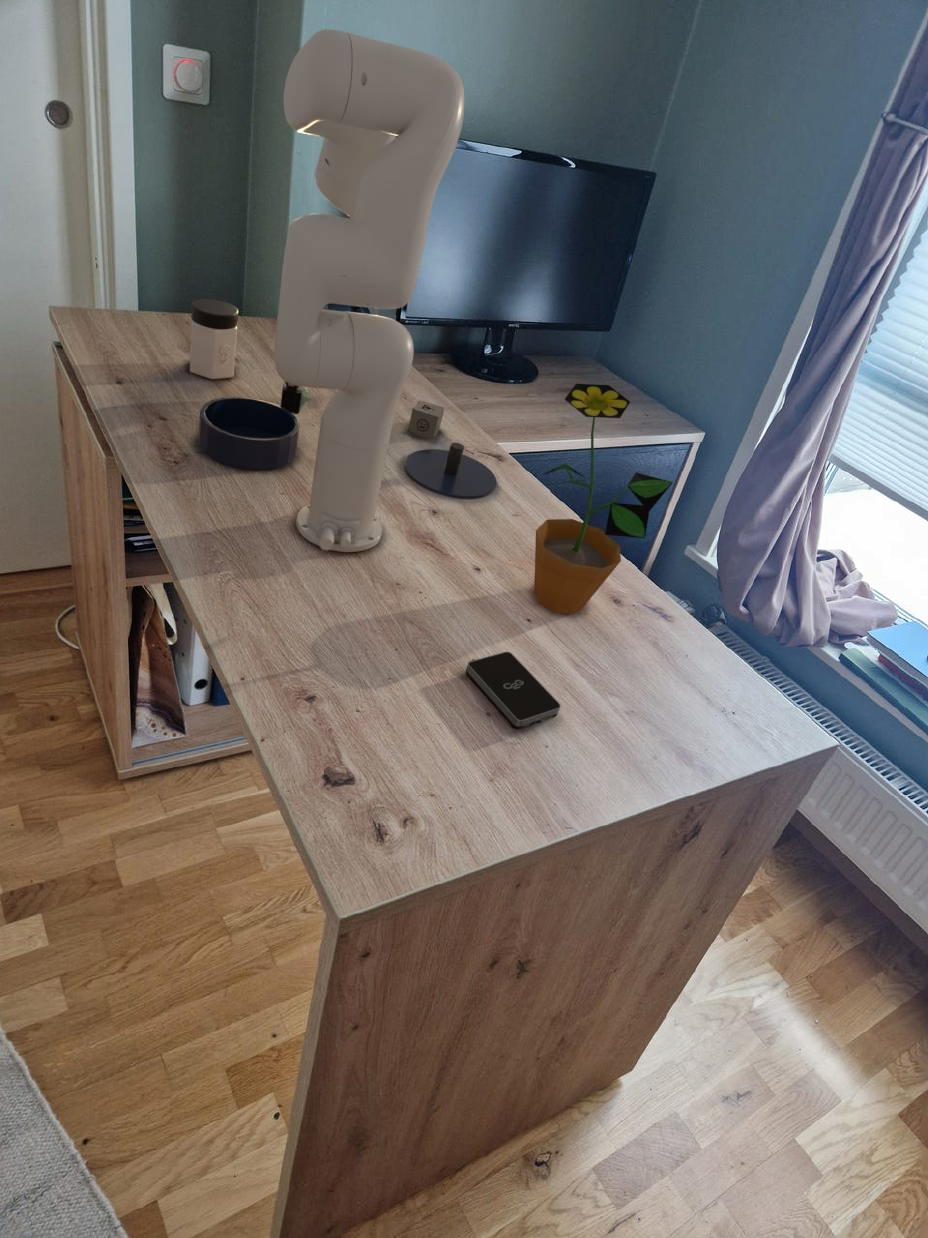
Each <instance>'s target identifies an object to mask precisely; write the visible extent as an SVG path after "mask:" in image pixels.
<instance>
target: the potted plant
mask: <svg viewBox="0 0 928 1238" xmlns="http://www.w3.org/2000/svg"><path fill="white" fill-rule="evenodd" d="M564 401H566V402H567V403H568V404H569V405H571V406H572V407H573V408H574V409H576V410H577V411H578V412H579V413H581V414H582V415H583V416H584V417H585V418H592V424H591V433H590V483H585V482H584V481H586V479H587V477H586V476H585V475H583V474H582V473H580V472H578V471H577V470H575V469H574V468H572V466H570V465H568V464H566V463H563V464H561V465H558V466H556V467H554V468H553V469H551V470H549V471H546V472H544V475H546V474H550V473H553V472H557V471H561V470H564V469H565V470H566V472H567V475H568V477H569V479H570V481H564V482H556V483H550V484H548V486H557V485H563V484H569V483H572V484H573V485H577V486H579V487H580V486H581V487H584V488H588V489H589V492H588V500H587V507H586V512H585V516H584V517H583V518H584V519H583V521H579V520H576V519H573V518H561V519H560V518H559V519H558V518H556V519H555V518H553V519H546V520H545V521H543V523H542V524H541V525H540V526H539V527H537V529H535V548H534V549H535V550H534V578H533V581H534V585H533V594H534V596H535V597H536V600H537V602H538V604H539V605H541V606H542V607H544V608H546V609H548V610H549V611H551V612H553V613H558V614H564V615H570V616H571V615H573V614H575V613H578V612H580V611H582V610H583V609H584V608H585V606H586V605H587V603H589V601H590V600H591V599H592V597H593V596H594V595H595V594H596V593H597V591H598V590H599V589H600V588H601V586H602V585H603V584H604V583H605V581H606V580H607V579H608V578H609V577H610V575H611V574H612V573H613V572H614V570H615V569H616V568H617V566H618V565H619V564H620V563H621V562H622V556H621V545H620V544H619V543H618V542H616V541H615V539H613V538H612V537H611V536H614V537H626V538H635V539H636V538H637V539H646V535H647V529H648V523H649V516H650V511H651V510H652V509H653V508H654V506H655V505H656V504H657V503H658V502H659V500H661V498H662V496H663V495H664V494H665V493H666V492H667V491H668V489H669V488H670V487H671V486H672V484H673V483H674V482H673V481H670V480H667V479H663V478H658V477H655V476H651V475H648V474H644V473H640V472H637V471H636V472H635V473H634V474H633V476H632V477H631V479H630V481H629V482H628V483H627V487H625V489H623V490H622V491H621V492H620V493H619V494H618V495H617V496H616V497H615V498H614V499H613V500H612V501H610V502H607V503H605V504H603V505H600V506H597V507H595V508H593V509H592V501H593V492H594V483H595V461H594V460H595V451H594V449H595V448H594V442H595V441H594V440H595V439H594V438H595V437H594V434H595V433H594V431H595V423H596V418H606V419H621V417H622V416H623V415H624V413H625V411H626V409H627V408H628V407H629V405H630V404H631V401H630V399H628V398H626V397H625V396H623V395H622V394H621V393H620V392H618V391H617V390H616V389H614V388H613V387H612V386H610V385H609V384H595V383H575V384H574V386H573V387H572V388H571V389H570V391H569V392H568V393H567V395H566V396H565V397H564ZM571 472H573V473H575V474H577V475H579V476H581V477H583V478H585V480H581V479H580V481H579V480H576V479H575V478H574V476H573V474H572V473H571ZM541 486H542V487H545V486H546V484H544V485H541ZM628 489H629V490H630V491H631V492H632V494H633V495H634V496H635V497H636V499H637V500H638V501H639V502H640V504H632V503H620V502H617V500H618V499H620V497H621V496H622V495H623V494H624V493H625V492H626V491H627V490H628ZM609 506H610V507H609ZM607 507H609V511H608V517H607V520H606V521H607V522H606V527H605V531H603V530H602V529H601V528H598V527H596V526H594V525H590V524H588V519H589V517H590V515H591V514H594V513H596V512H599V511H601V510H602V509H604V508H607Z"/></svg>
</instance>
